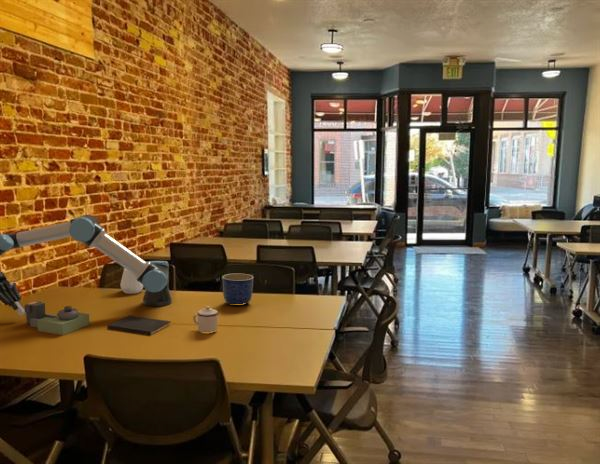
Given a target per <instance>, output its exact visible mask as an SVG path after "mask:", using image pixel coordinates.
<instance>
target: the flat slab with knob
mask: <svg viewBox="0 0 600 464" xmlns="http://www.w3.org/2000/svg"><path fill="white" fill-rule="evenodd" d="M29 325H30V327H31V328H32V327H34V328H37V332H40V333H48V334H54V335H60V336H65V335H67V334H70V333H72V332H75V331H76V330H80V329H82V328H83V327H87V326H89V325H90V313H85V312H79V310H78V309H76V308H72V305H65V306H64V307H63V309H61V310H58V311H57V312H56V315H55V314H51V313H45V318H42V319H34V318H31V319H30V324H29Z"/></svg>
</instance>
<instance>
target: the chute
mask: <svg viewBox="0 0 600 464" xmlns="http://www.w3.org/2000/svg"><path fill="white" fill-rule="evenodd" d="M23 305H24V310H25V313H26V314H25V316H26V318H25V319H26V324H28V325H30V319H31V318H34V319H42V318H45V314H46V303H45V302H42V301H37V300H36V301H32V302H28V303H26V304H23Z"/></svg>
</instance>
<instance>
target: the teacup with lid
mask: <svg viewBox="0 0 600 464" xmlns="http://www.w3.org/2000/svg"><path fill="white" fill-rule="evenodd" d="M218 314H219V312H218V310H216V309H213V308H212V307H211V306H210V305H206V306H205V308H202V309H200V310H198V311H197V313H195V314H194V315H193V316H192V320H193V323H194V324H195V325H197V332H198V331H200V332H211V331H215V330H217V331H218ZM196 317H197V320H196Z"/></svg>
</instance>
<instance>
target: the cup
mask: <svg viewBox="0 0 600 464" xmlns="http://www.w3.org/2000/svg"><path fill="white" fill-rule="evenodd" d="M119 286H120V288H121V290H122V292H123V293H124V294H127V295H135V294H139V293H141V292H142V291H143V289H144V286H143V284H141V283H140V282H139V281H137V280H136V278H135V275H134V274H133V273H131V272H130V271H128V270H127V269H125V268H123V272H122V277H121V280H120V284H119Z"/></svg>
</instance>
